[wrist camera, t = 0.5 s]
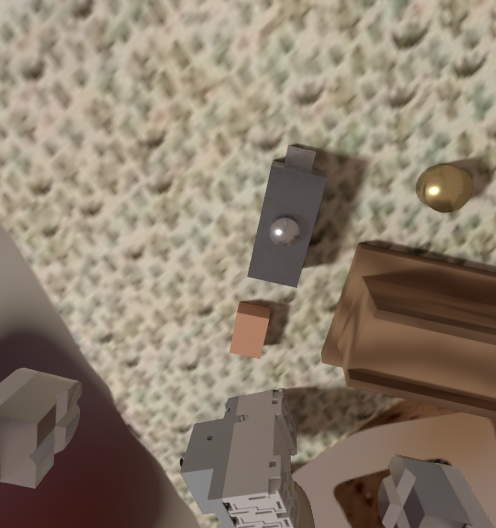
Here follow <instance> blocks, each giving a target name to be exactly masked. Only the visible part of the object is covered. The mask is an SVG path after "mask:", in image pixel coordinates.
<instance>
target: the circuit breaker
mask: <svg viewBox="0 0 496 528" xmlns="http://www.w3.org/2000/svg"><path fill="white" fill-rule="evenodd" d="M226 409H227V412H225V416H224V419H218V420H213V421H208V422H202V423H197V424H194V427H193V431H192V434H191V437H190V441H189V444H188V447H187V451H186V452H185V453H183V457H182V458H181V459H180V466H181V467H182V468H181V471H180V474H181V476H182V478H183V479H184V481H185V483H186V485H187V487H188V488H189V490H190V492H191V494H192V496H193V497H194V499H195V501H196V503H197V505H198V507H199V508H200V510H201V512H202V514H210V513H215V514H216V516H217V518H218V520H219V522H220V524H221V526H222V528H297V523H298V522H299V499H298V496H297V494H296V491H295V489H294V481H293V479H292V476H291V455H292V456H294V455H296V454H297V438H296V425H295V423H294V420H293V417H292V415H291V412H290V409H289V406H288V404H287V401H286V398H285V396H284V393H283V390H282V388H280V389H279V391H276V392H273V390H270V391H265V392H259V393H254V394H249V395H244V396H239V397H234V398H229V399H228V401H227V406H226Z"/></svg>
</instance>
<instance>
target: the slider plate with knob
mask: <svg viewBox="0 0 496 528" xmlns="http://www.w3.org/2000/svg"><path fill="white" fill-rule="evenodd" d="M315 156H316V151H312V150H308V149H303V148H298V147H294V146H289V145H288V149H287V154H286V158H285V162H280V161H276V160H273V162H272V166H271V170H270V175H269V180H268V184H267V189H266V193H265V198H264V202H263V207H262V212H261V216H260V221H259V225H258V230H257V235H256V239H255V244H254V248H253V253H252V258H251V262H250V267H249V271H248V276H247V277H251V278H255V279H260V280H264V281H269V282H273V283H278V284H282V285H287V286H291V287H296V288H297V285H298V281H299V278H300V274H301V271H302V267H303V264H304V260H305V257H306V253H307V250H308V246H309V243H310V239H311V235H312V232H313V228H314V225H315V221H316V218H317V214H318V211H319V207H320V204H321V200H322V197H323V193H324V190H325V186H326V183H327V179H328V177H327V176H326V175H325V173H324V172H323V171H322V170H317V169H312V167H313V164H314V160H315Z"/></svg>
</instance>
